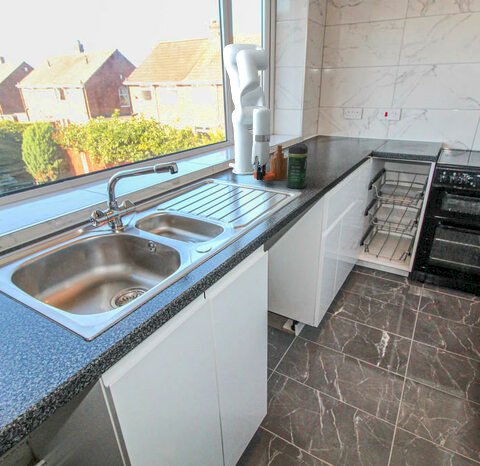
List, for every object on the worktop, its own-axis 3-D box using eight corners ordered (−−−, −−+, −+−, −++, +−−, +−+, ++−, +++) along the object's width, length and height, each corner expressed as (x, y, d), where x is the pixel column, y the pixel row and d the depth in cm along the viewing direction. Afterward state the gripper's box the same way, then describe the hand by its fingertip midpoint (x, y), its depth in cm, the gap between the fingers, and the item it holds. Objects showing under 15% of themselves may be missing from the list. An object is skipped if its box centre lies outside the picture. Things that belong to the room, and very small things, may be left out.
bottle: (267, 179, 159) (267, 145, 153) (273, 175, 166) (274, 143, 160) (283, 181, 156) (284, 146, 149) (289, 177, 163) (290, 144, 156)
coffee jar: (302, 190, 142) (305, 146, 135) (285, 188, 145) (286, 145, 137) (307, 184, 150) (309, 142, 143) (290, 183, 153) (292, 142, 145)
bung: (250, 178, 151) (250, 175, 151) (258, 173, 159) (258, 170, 159) (270, 181, 148) (270, 178, 147) (277, 176, 156) (277, 172, 155)
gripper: (260, 135, 150) (260, 174, 158) (245, 140, 137) (246, 183, 145) (276, 136, 147) (274, 176, 156) (262, 142, 134) (261, 185, 142)
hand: (261, 179), depth 150 cm, fingers closed on bung, 2 cm apart
